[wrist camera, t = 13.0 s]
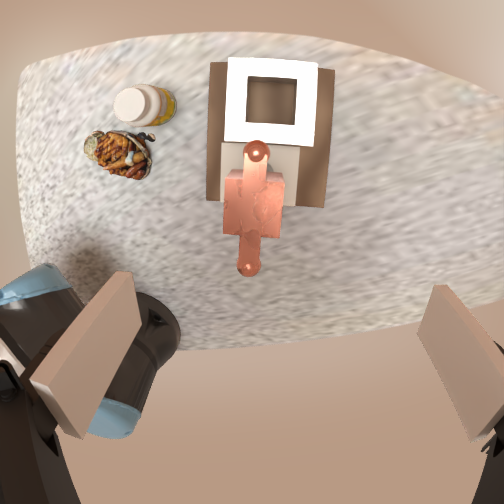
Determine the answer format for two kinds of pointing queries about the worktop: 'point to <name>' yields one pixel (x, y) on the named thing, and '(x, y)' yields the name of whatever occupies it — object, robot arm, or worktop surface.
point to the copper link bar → (253, 205)
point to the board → (273, 112)
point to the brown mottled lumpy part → (120, 152)
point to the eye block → (271, 72)
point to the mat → (280, 161)
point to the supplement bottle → (144, 105)
